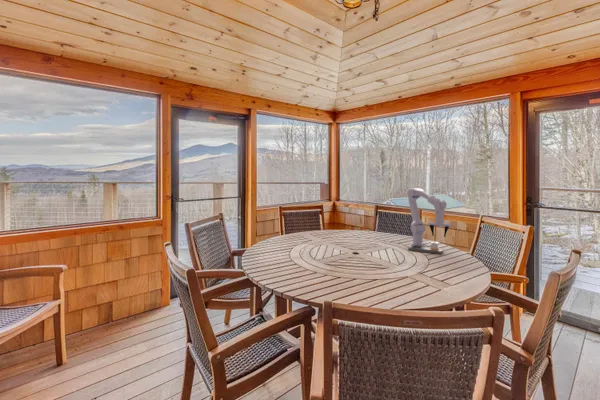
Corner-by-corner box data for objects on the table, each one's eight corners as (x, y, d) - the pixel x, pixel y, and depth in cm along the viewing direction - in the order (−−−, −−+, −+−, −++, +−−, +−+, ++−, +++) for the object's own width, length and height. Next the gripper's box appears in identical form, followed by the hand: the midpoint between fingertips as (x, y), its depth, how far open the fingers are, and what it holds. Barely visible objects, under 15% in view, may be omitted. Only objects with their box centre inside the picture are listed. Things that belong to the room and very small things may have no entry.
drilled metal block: (431, 251, 217) (431, 241, 216) (437, 251, 215) (438, 242, 214) (430, 252, 213) (431, 242, 212) (437, 253, 211) (437, 243, 210)
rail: (410, 247, 226) (410, 244, 226) (442, 251, 215) (442, 248, 215) (408, 250, 219) (408, 247, 219) (441, 254, 208) (441, 251, 208)
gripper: (427, 217, 216) (427, 236, 217) (450, 219, 209) (449, 238, 210) (429, 216, 222) (428, 234, 223) (451, 217, 215) (450, 236, 216)
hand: (438, 236), depth 217 cm, fingers open, 7 cm apart
